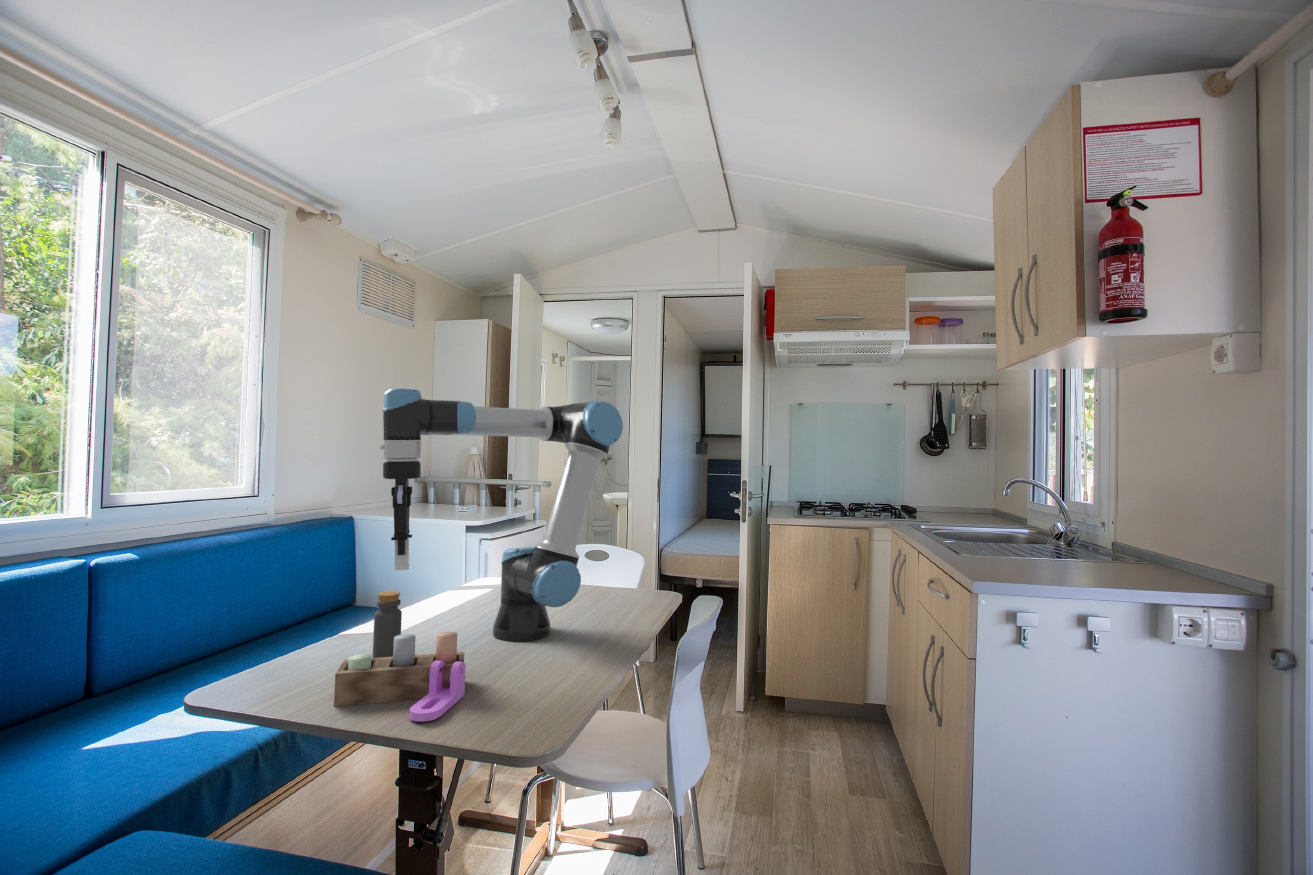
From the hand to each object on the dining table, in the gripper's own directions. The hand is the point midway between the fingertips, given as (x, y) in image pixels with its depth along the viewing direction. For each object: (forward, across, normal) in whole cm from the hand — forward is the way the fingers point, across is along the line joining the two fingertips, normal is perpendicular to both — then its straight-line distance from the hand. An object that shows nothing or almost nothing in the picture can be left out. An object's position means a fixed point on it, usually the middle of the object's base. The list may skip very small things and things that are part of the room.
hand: (401, 569), depth 129 cm
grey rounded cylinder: (+18, +10, +1) cm, 21 cm away
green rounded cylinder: (+21, +10, -7) cm, 25 cm away
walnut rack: (+23, +10, +1) cm, 25 cm away
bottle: (+23, -12, -4) cm, 26 cm away
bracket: (+23, +20, +8) cm, 31 cm away
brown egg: (+18, +11, +9) cm, 23 cm away
